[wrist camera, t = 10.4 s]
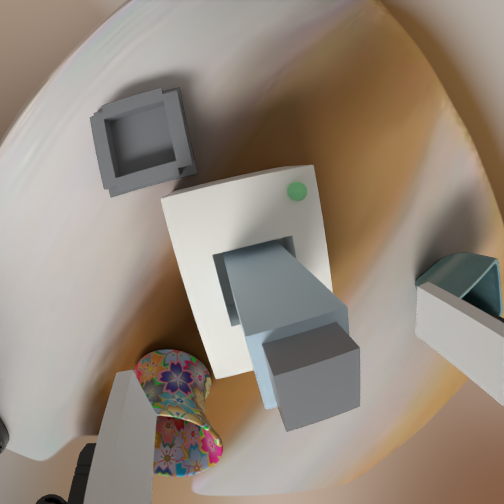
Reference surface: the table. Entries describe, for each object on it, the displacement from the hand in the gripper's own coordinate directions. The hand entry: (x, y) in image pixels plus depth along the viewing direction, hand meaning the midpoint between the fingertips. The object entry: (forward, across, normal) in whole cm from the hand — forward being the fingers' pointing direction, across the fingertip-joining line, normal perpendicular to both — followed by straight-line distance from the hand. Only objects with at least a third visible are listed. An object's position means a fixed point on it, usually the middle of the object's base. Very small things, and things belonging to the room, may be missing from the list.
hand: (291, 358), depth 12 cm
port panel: (+17, +1, 0) cm, 17 cm away
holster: (+17, -6, +12) cm, 22 cm away
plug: (+12, +1, 0) cm, 12 cm away
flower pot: (+17, +23, -10) cm, 30 cm away
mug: (+17, -10, -13) cm, 24 cm away
